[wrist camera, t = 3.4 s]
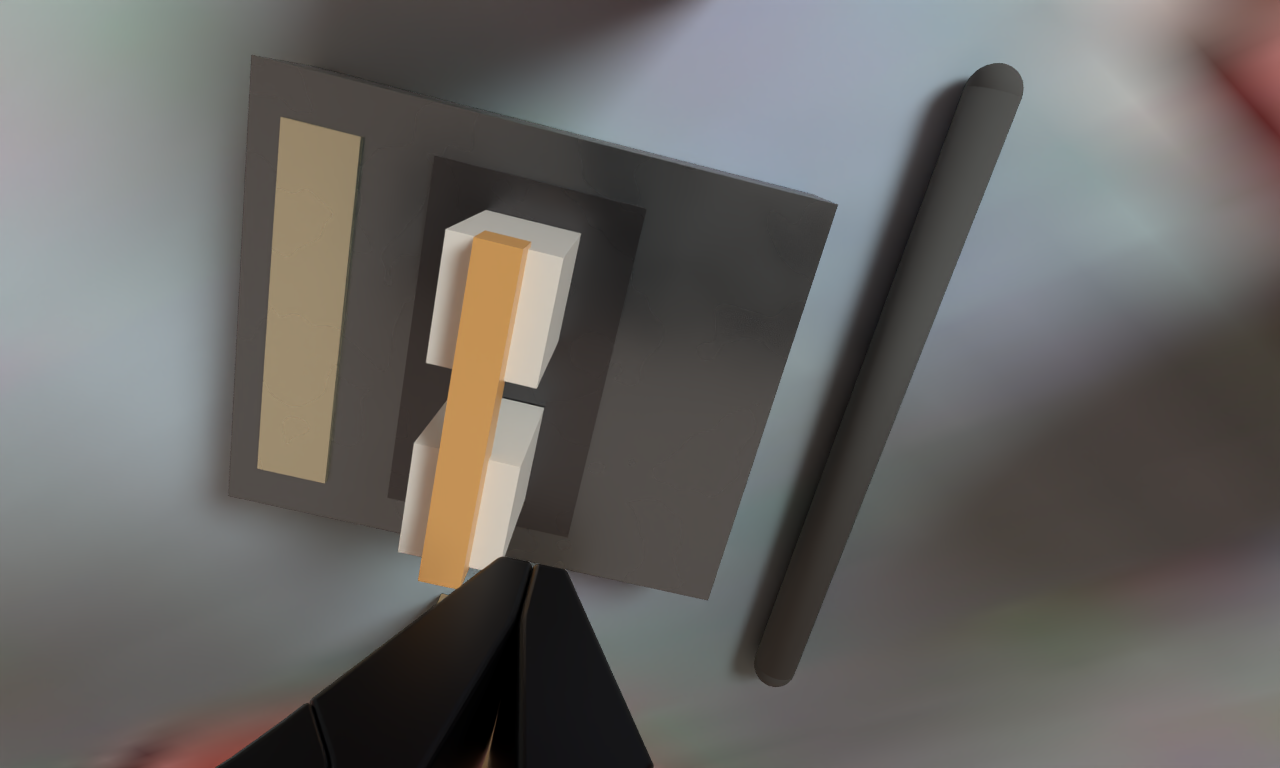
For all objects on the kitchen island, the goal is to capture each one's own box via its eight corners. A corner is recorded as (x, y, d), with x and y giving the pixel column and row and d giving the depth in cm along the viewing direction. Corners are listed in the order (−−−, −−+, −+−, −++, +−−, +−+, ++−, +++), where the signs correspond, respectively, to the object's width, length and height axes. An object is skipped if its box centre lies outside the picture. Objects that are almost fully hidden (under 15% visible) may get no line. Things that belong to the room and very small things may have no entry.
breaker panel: (812, 194, 17) (839, 205, 15) (702, 545, 20) (708, 604, 18) (309, 65, 16) (247, 54, 14) (279, 452, 20) (224, 499, 17)
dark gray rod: (1016, 73, 16) (1043, 69, 15) (784, 670, 22) (791, 699, 21) (965, 59, 16) (989, 54, 15) (746, 662, 22) (751, 691, 21)
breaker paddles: (582, 228, 15) (560, 258, 11) (524, 502, 17) (491, 596, 14) (486, 204, 15) (435, 227, 11) (440, 484, 17) (386, 573, 13)
